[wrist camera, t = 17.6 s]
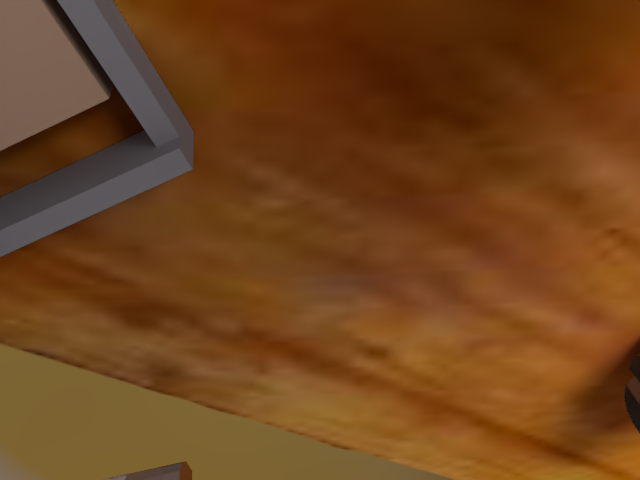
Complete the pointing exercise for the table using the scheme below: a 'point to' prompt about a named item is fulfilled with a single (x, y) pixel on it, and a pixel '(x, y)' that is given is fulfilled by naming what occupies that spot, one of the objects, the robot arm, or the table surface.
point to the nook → (74, 97)
